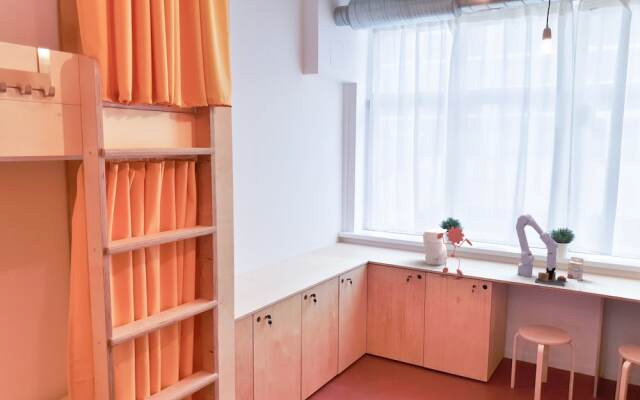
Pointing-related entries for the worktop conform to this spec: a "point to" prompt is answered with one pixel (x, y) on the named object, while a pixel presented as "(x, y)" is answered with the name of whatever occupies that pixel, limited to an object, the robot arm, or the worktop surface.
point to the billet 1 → (543, 276)
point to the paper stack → (434, 247)
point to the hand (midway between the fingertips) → (550, 278)
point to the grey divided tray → (551, 282)
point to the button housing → (561, 279)
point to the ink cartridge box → (575, 268)
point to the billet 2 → (553, 276)
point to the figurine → (455, 237)
